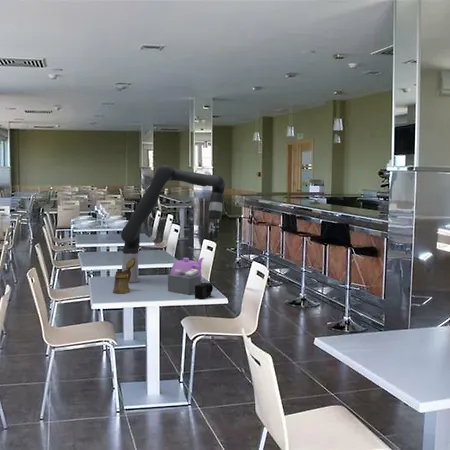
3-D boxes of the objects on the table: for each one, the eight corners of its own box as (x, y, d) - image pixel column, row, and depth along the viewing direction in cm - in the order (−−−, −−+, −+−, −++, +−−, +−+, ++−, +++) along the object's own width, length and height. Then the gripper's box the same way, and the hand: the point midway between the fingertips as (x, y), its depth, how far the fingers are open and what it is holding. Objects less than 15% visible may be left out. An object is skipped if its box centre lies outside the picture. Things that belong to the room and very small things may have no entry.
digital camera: (203, 299, 305) (204, 286, 305) (194, 298, 308) (194, 285, 307) (213, 296, 315) (213, 283, 314) (204, 294, 317) (204, 282, 316)
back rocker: (182, 273, 331) (183, 269, 331) (188, 274, 329) (188, 270, 329) (174, 272, 325) (175, 268, 326) (180, 273, 323) (180, 269, 323)
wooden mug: (139, 290, 324) (139, 258, 322) (119, 294, 314) (119, 261, 312) (129, 288, 330) (129, 256, 328) (109, 291, 320) (109, 259, 319)
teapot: (188, 288, 334) (188, 261, 333) (165, 282, 350) (165, 257, 348) (217, 283, 350) (218, 258, 349) (194, 277, 365) (194, 254, 364)
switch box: (179, 288, 333) (179, 272, 332) (200, 291, 324) (200, 275, 323) (167, 291, 325) (168, 275, 324) (188, 294, 316) (189, 278, 315)
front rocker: (193, 272, 327) (192, 268, 327) (198, 273, 325) (198, 269, 324) (185, 276, 322) (184, 272, 321) (190, 277, 320) (190, 273, 319)
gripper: (205, 212, 338) (202, 239, 335) (213, 207, 324) (210, 236, 321) (217, 214, 340) (215, 241, 337) (225, 209, 327) (223, 238, 324)
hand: (212, 239), depth 329 cm, fingers open, 8 cm apart
